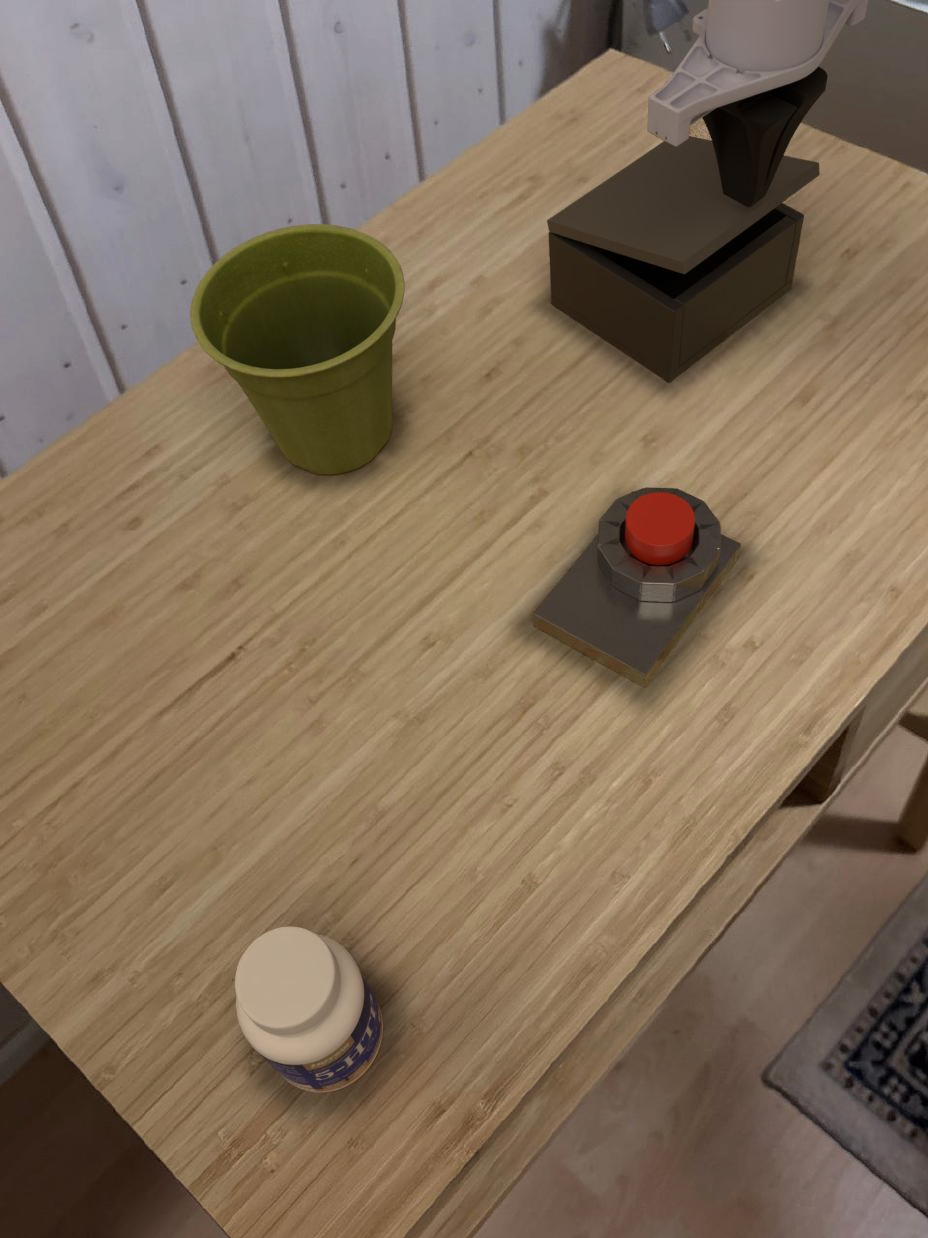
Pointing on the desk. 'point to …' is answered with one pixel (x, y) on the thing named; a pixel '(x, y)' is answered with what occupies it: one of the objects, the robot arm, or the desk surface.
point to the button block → (635, 592)
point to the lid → (672, 206)
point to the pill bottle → (307, 1009)
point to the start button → (659, 528)
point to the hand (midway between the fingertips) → (743, 194)
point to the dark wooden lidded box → (675, 292)
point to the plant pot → (308, 338)
